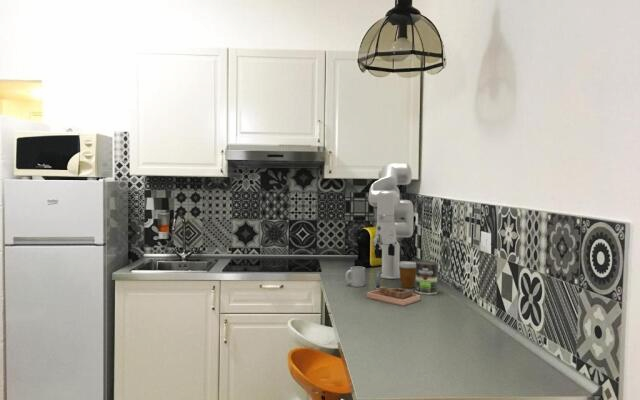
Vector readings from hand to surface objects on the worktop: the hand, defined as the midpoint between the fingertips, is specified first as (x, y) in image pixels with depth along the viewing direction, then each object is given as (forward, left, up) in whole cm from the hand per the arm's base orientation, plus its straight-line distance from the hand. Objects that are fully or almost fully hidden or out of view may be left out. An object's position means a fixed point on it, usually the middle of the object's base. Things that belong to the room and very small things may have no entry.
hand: (385, 256), depth 210 cm
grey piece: (-11, -12, -18) cm, 25 cm away
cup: (-9, -25, -19) cm, 32 cm away
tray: (+1, +5, -18) cm, 19 cm away
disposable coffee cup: (-26, -5, -19) cm, 33 cm away
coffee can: (-22, +8, -19) cm, 30 cm away
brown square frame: (0, +5, -18) cm, 19 cm away
